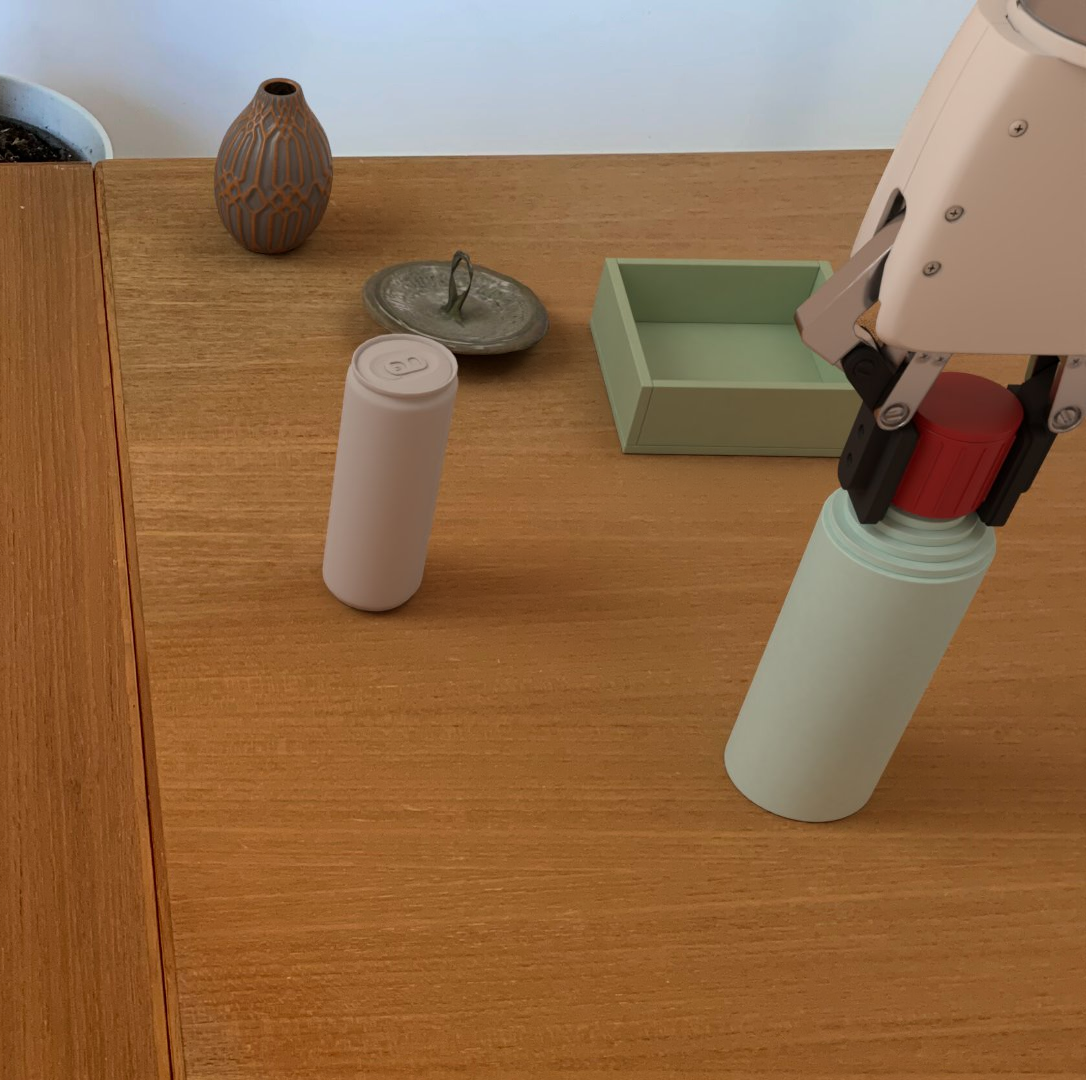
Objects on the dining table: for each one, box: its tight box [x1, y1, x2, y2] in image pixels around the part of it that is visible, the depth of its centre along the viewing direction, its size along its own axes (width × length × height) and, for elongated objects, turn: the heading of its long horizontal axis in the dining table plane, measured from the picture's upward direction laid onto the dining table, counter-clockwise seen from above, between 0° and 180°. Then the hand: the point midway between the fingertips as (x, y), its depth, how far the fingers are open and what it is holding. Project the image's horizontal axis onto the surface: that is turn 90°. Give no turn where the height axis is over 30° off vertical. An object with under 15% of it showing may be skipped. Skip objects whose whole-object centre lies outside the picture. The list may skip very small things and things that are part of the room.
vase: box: [213, 77, 334, 254], centre depth 98 cm, size 7×7×9 cm
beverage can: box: [321, 333, 459, 612], centre depth 77 cm, size 5×5×12 cm
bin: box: [589, 257, 863, 458], centre depth 90 cm, size 12×12×4 cm
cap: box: [891, 371, 1024, 519], centre depth 61 cm, size 4×4×4 cm
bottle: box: [723, 486, 997, 823], centre depth 67 cm, size 6×6×18 cm
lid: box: [361, 249, 551, 356], centre depth 94 cm, size 11×10×5 cm
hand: (922, 498), depth 63 cm, fingers closed on cap, 3 cm apart
